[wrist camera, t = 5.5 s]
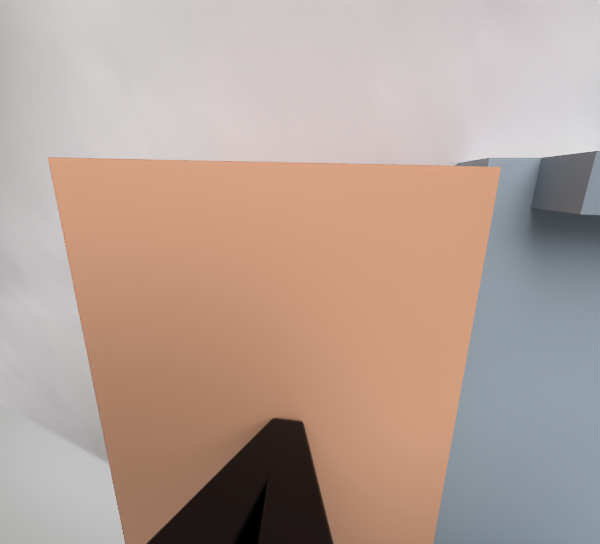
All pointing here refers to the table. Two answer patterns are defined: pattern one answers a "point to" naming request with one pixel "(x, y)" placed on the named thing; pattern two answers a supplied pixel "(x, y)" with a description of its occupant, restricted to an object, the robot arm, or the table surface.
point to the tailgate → (278, 324)
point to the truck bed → (532, 365)
